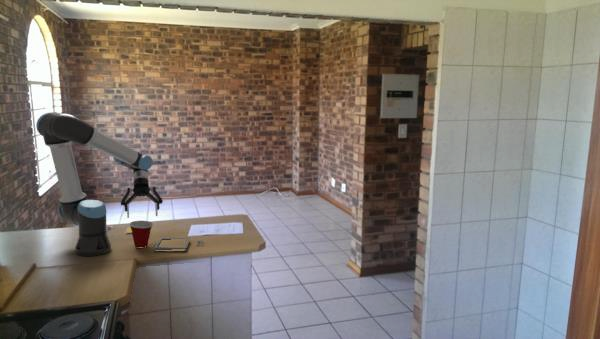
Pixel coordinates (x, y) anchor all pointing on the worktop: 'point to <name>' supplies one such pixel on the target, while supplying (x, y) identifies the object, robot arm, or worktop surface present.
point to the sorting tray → (170, 247)
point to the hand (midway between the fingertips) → (142, 215)
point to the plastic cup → (141, 232)
